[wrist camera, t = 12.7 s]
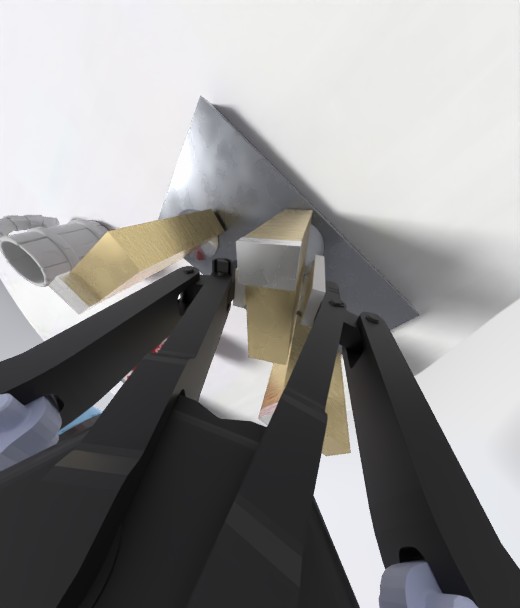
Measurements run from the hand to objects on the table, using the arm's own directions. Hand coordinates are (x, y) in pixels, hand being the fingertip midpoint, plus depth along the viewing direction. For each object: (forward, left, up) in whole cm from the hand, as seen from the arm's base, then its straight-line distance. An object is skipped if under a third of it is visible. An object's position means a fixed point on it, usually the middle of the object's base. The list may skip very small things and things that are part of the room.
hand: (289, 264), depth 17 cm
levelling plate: (-3, 0, -6) cm, 7 cm away
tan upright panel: (-7, +10, -4) cm, 13 cm away
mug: (-21, +26, -7) cm, 34 cm away
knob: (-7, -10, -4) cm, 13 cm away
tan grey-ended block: (0, 0, -4) cm, 4 cm away
